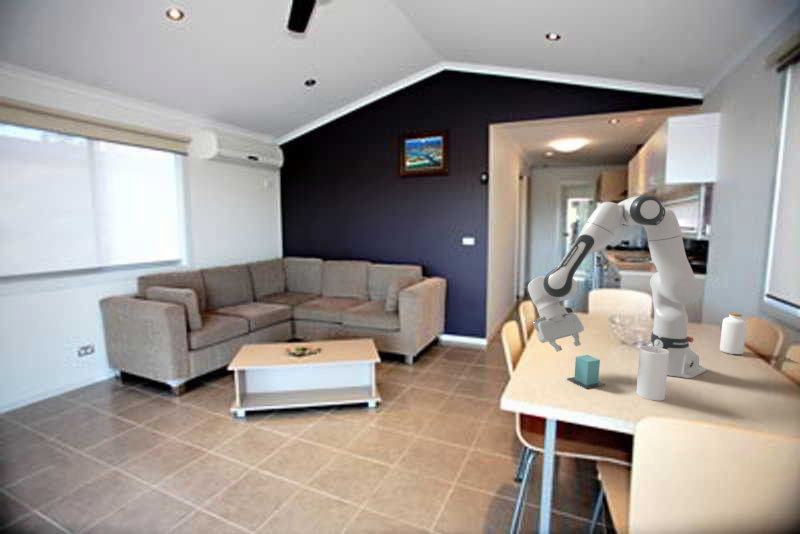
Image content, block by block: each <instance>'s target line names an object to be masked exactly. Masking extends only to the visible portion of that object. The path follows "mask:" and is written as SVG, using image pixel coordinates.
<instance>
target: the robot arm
mask: <svg viewBox="0 0 800 534" xmlns="http://www.w3.org/2000/svg"><path fill="white" fill-rule="evenodd" d="M621 226H626V227H627V226H632V227H637V226H642V227H643V228H644V230H645V232H646V236H647V238H646V239H647V243H648V249H649V254H650V258H651V262H652V263H653V264H654V266H655V269H656V272H655V273H654V274H652V276H651V277H650V279H649V286H650V289H651V295H652V305H653V325H652V328H653V329H652V332H651V333H650V334H651V335H650V343H649V344H648V346H655V347H660V348H664V349H666V350H668V351H669V359H668V370H667V376H671V377H677V378H678V377H679V378H685V379H692V378H695V377H698V375H701V374H703V373H705V372H707V369H706V368H705V366H702V365H700V356H699V354H697V353H696V351H694V350H693V349H692V348H691V347H690V344H689V343H693V342H694V337H692V336H688V326H689V315H688V313H687V311H686V307H685V305H686V304H687V305H688V304H693V303H695V302H697V301H698V300H699V299H700V297H701V296H702V294H703V291H702V290H703V289H702V286H701V284H700V283H699V281H698V280H697V278H696V277H695V274H694V271H693V269H692V266H691V264H690V262H689V260H688V258H687V255H686V250H685V245H684V244H685V243H684V241H683V234H682V231H681V226H680V223H679V221H678V218H677V216H676V214H675V212H674V211H673V210H671V209H669V208H665V207H664V206H663V204H662V202H661V201H660V200H659V199H658V198H657V197H655V196H652V195H646V194H645V195H636V196H635V195H634V196H632V197H629V198H625V199H621V200H619V201H618V202H617V203H616V202H612V201H604V202H601V203H600V204H599V205H598V206H597V207H596V208H595V210H594V211H593V212H592V213H591V214H590V216H589V217H588V219H587V221H586V222H585V223H584V225H583V227H582V229H581V230H580V232H579V233H578V236H577V237H576V239H575V241H574V242H573V244H572V245H571V247H570V248H569V250H568V251H567V252H566V253H565V255H564V257H563V258H562V260H561V261H560V263H559V264H558V265H557V266H556V267H554V268H553V269H552V270H551V271H549V272H548V273H547V274H546V275H545V276H544V275H538V276H536V277H534V278H533V279H531V280H530V281H529V282H528V284H527V292H528V294H529V296H530V299H531V301H532V303H533V304H534V305H535V307H536V309H537V313H538V316H539V317H540V318H536V319H534V321H533V324H532V325H533V327H534V329H535V332H536V336H537V339H538V341H539V342H540V343H542V344H545V343H549V344H550V345H551V347H553V348H554V349H555V352H561V351H562V350H563V348H562V345H560V344H558V343H556V342H557V341H556V340H559V339H563V338H567V337H570V336H572V338H574V342H573V345H574V346H575V347H579V346H581V345H582V343H581V341H580V334H581V333H582V332H583V331H584V330H585V328H584V324H583V323H582V321H581V319H580V318H579V316H578V315H577V314H575V309H574V307H569V306H564V305H561V304H560V302H564V301H567V300H571V299H572V298H574V297H575V296H576V295H577V294H578V291H579V285H578V283H577V281H576V280H575V279H574V276H575V274H576V272H578V271H577V270H579V268H580V266H581V265H582V263H583V262H584V261H585V259H586V258H587V257H588V256H589V255H591V254H593V253H597V252H600V251H603V249H605V248H606V247H607V246H608V245H609V243H610V242H611V241H612V240H613V237H614V236H615V234H616V233H617V231H618V229H619V228H620V227H621Z"/></svg>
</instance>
